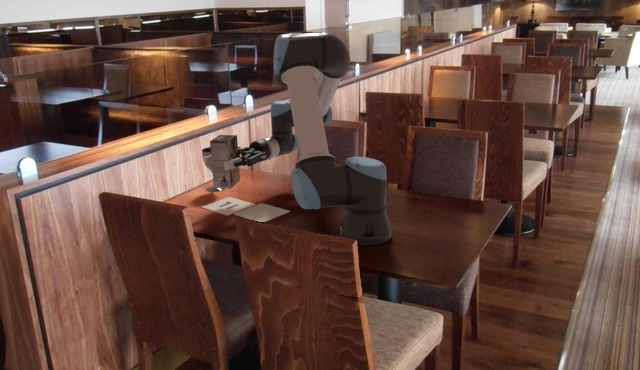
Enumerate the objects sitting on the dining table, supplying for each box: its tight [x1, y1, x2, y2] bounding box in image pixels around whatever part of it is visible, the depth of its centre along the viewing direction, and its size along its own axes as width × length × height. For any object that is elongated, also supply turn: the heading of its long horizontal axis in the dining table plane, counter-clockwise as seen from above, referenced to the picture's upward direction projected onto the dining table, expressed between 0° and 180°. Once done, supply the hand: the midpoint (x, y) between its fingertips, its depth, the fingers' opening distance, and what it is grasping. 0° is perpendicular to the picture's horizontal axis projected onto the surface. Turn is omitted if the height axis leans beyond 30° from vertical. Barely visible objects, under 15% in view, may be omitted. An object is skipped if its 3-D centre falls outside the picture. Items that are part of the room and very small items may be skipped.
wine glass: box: [201, 146, 226, 193], centre depth 218 cm, size 8×8×15 cm
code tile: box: [201, 196, 257, 216], centre depth 202 cm, size 13×13×1 cm
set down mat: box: [233, 202, 291, 223], centre depth 195 cm, size 13×13×1 cm
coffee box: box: [209, 134, 241, 190], centre depth 197 cm, size 9×6×16 cm
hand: (215, 163), depth 194 cm, fingers closed on coffee box, 9 cm apart
